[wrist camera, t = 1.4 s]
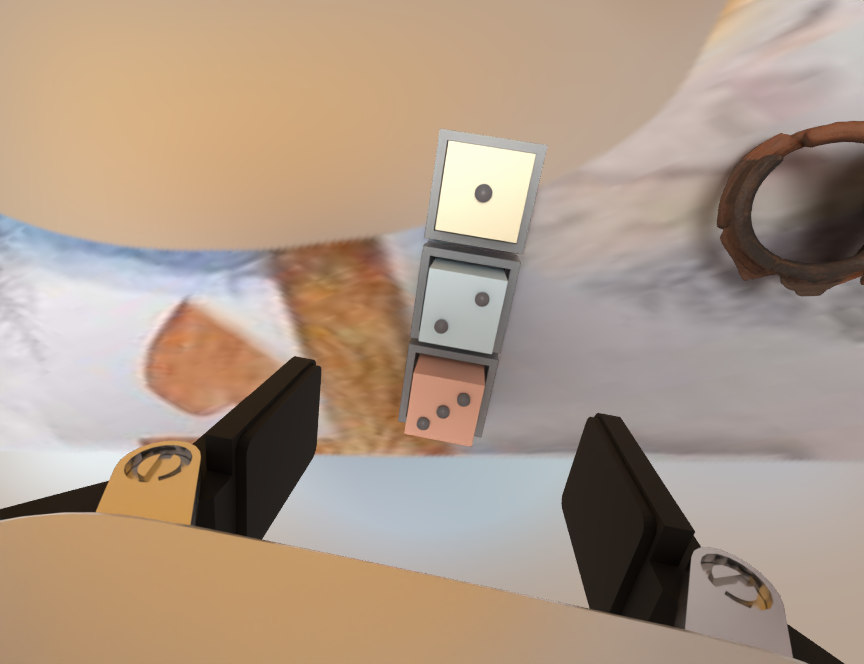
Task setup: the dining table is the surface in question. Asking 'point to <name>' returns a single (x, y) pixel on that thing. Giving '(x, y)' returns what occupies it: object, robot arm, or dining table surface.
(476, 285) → the button two
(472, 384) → the button three
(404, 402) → the tile base
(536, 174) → the tile one base
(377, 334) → the dining table surface
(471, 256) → the tile two base
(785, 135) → the pottery mug
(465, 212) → the button one
